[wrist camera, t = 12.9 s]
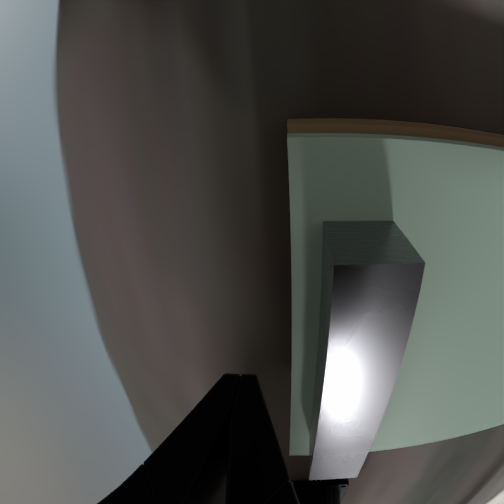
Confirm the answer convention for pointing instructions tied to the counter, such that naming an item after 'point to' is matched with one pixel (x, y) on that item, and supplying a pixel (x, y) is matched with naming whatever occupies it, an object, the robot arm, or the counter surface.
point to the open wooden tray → (392, 129)
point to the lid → (393, 294)
